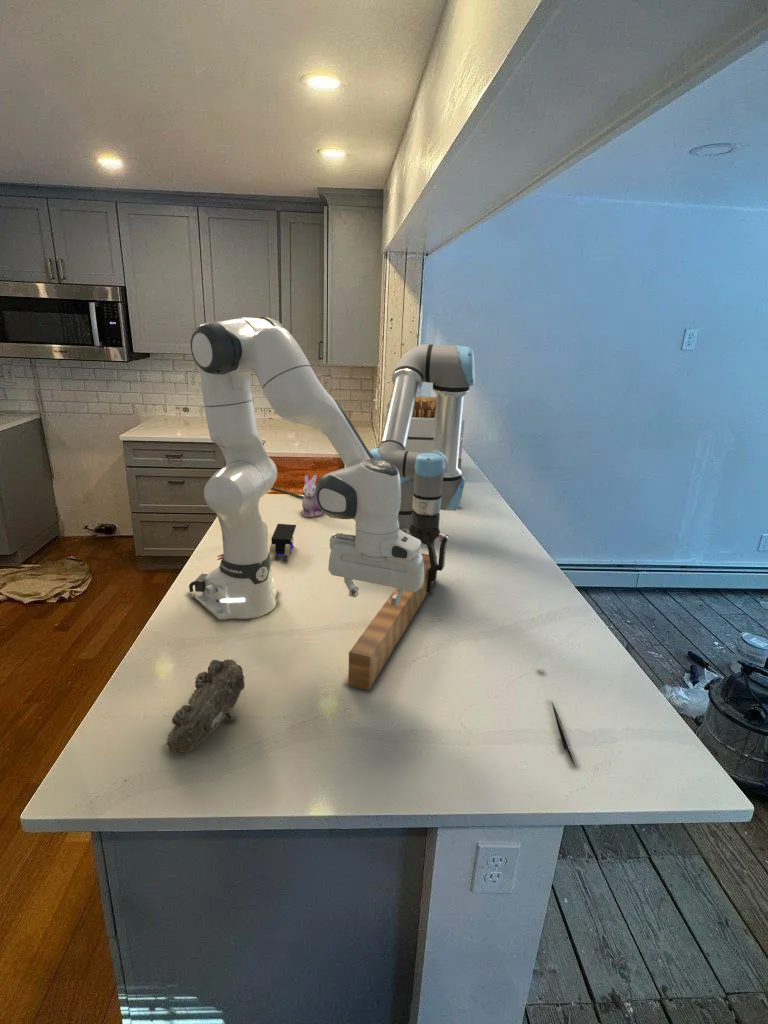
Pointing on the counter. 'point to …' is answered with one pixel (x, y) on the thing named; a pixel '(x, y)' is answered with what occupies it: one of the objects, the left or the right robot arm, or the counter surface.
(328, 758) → the counter surface
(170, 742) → the fossil
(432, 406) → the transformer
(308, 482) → the figurine
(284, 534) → the figurine character
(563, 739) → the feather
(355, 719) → the counter surface
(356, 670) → the post
